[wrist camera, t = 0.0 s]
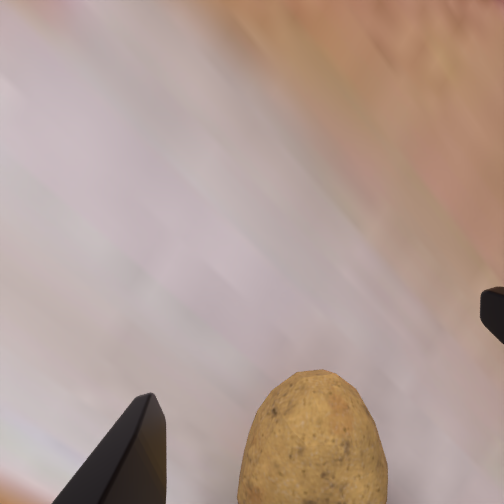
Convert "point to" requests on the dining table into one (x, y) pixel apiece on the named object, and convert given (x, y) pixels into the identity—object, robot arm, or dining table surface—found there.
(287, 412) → the potato
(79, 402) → the dining table surface
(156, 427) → the robot arm
